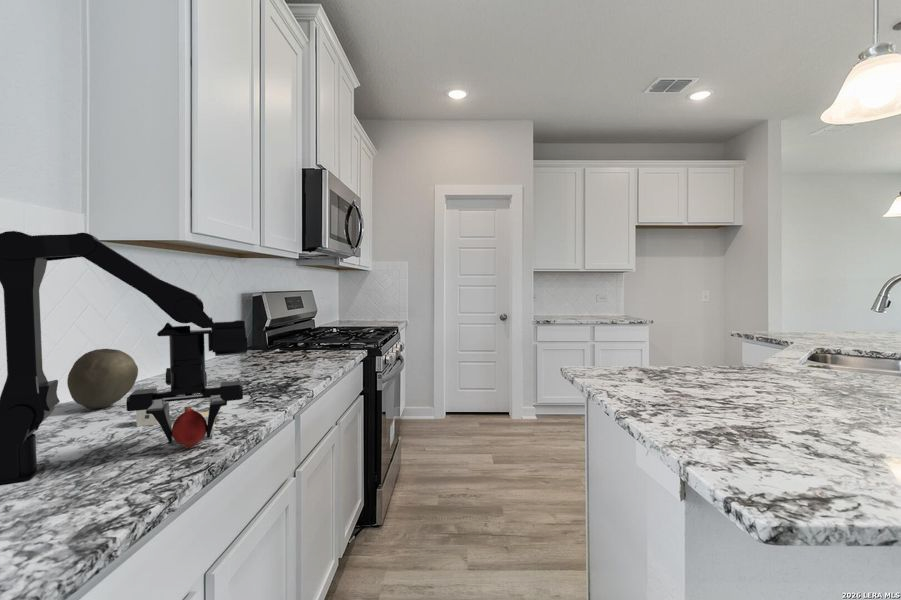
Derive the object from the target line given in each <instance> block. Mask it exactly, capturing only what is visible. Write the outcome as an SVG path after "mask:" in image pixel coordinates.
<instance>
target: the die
mask: <svg viewBox="0 0 901 600" xmlns="http://www.w3.org/2000/svg"><path fill="white" fill-rule="evenodd" d="M135 414H136V427H145V426H153V425H159V423H158V421H157V420H156V419H155V417H154V416H153V415H152V414H146V410H138V411H135Z"/></svg>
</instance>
